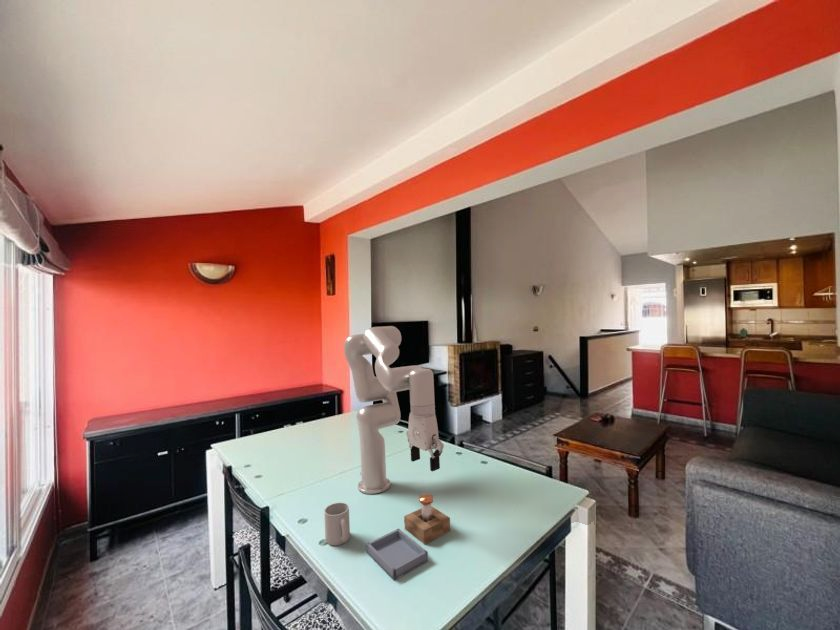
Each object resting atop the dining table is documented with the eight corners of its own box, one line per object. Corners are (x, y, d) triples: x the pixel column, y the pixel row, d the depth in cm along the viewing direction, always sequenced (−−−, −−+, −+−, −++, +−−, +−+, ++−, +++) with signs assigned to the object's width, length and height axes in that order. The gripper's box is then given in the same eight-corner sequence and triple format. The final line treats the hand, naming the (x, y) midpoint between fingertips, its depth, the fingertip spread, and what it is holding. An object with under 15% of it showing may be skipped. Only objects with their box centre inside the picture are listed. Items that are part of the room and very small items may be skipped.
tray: (366, 552, 100) (366, 543, 100) (398, 536, 107) (398, 528, 107) (393, 580, 89) (393, 570, 89) (428, 560, 96) (427, 551, 96)
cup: (344, 528, 112) (342, 500, 112) (358, 544, 104) (357, 513, 104) (321, 537, 108) (320, 508, 108) (334, 554, 100) (333, 522, 100)
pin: (417, 529, 110) (416, 497, 110) (428, 524, 113) (427, 492, 113) (426, 536, 106) (424, 502, 106) (437, 530, 109) (436, 497, 109)
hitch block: (404, 529, 110) (404, 516, 110) (429, 517, 116) (429, 504, 117) (424, 544, 102) (423, 530, 103) (450, 530, 109) (449, 517, 109)
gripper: (397, 406, 114) (399, 460, 114) (430, 417, 101) (433, 478, 100) (415, 402, 119) (417, 453, 119) (450, 412, 105) (453, 470, 105)
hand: (425, 464), depth 110 cm, fingers open, 9 cm apart
